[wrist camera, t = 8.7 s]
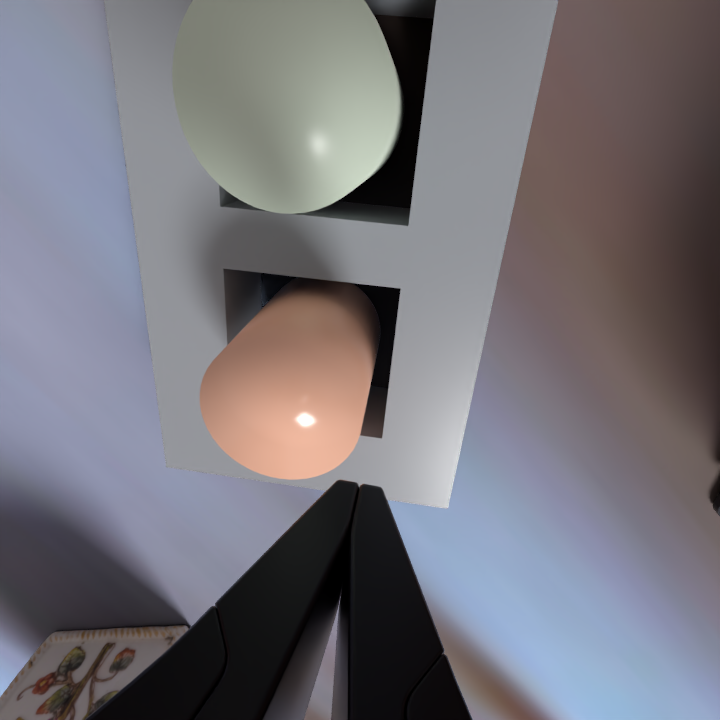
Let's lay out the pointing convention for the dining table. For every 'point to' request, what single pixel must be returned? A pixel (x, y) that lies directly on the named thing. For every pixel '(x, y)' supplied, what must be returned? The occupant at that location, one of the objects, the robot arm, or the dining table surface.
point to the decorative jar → (82, 671)
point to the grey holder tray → (338, 238)
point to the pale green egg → (287, 98)
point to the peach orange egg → (295, 380)
